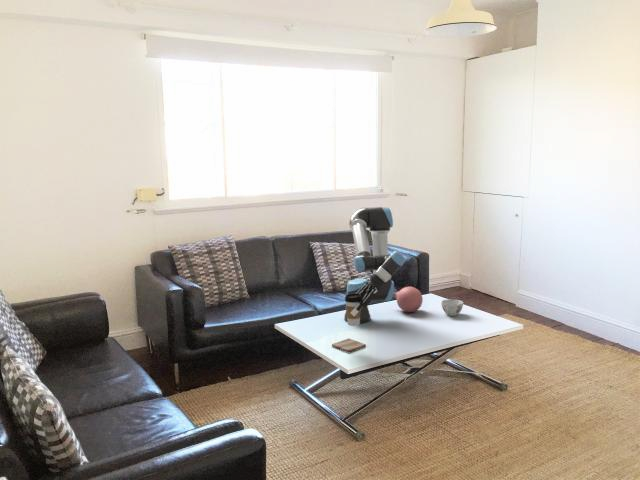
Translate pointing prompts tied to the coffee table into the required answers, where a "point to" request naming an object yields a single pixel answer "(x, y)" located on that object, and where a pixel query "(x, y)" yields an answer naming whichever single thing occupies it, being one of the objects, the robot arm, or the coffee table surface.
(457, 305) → the teacup
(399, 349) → the coffee table surface
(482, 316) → the coffee table surface
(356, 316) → the coffee cup
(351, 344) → the plate
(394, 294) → the pink rubber ball
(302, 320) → the coffee table surface
